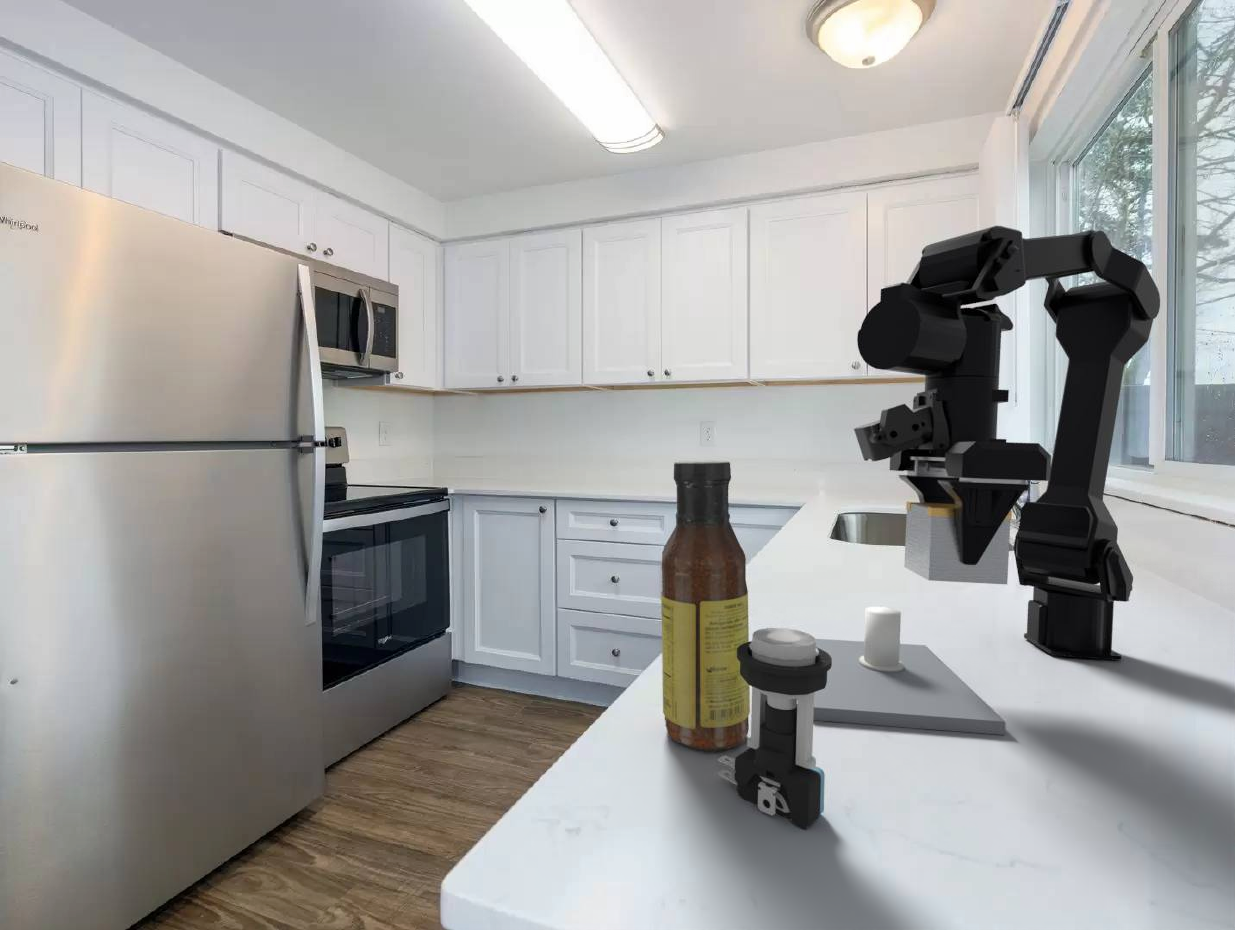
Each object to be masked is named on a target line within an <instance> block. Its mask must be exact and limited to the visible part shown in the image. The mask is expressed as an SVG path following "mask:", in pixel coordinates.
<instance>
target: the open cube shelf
mask: <svg viewBox="0 0 1235 930" xmlns="http://www.w3.org/2000/svg"><path fill="white" fill-rule="evenodd" d="M905 510H906V522H905V525H906V526H905V542H904V543H905V544H904V545H905V546H904V564H903V565H904V566H903V567H904V568H906V569H908V570H909V571H911V572H912V573H915V574H916V575H918V576H919V577H922V578H923V579H925V580H927V581H931V582H932V581H934V582H948V583H949V582H952V583H971V584H972V583H973V584H990V585H993V584H994V585H1008V579H1009V578H1008V577H1009V575H1008V574H1009V558H1010V557H1009V555H1010V554H1009V553H1010V537H1011V535H1010V534H1011V520H1012V514H1013V512H1012V510H1011V511H1010V512H1009V514H1008V515H1007V516H1006V518H1005V519H1004V521H1003V523H1002V524H1001V526H1000V527H999V529H998V530H997V532H996V534H995V535H994V537H993V539H992V540H991V542H990V544H989V545H988V547H987V549H986V550H985V552H984V553H983V555H982V557H981V558H980V560H979V562H978V563H977V564H976V565H965V564H963V563H962V562H961V556H960V550H959V541H958V530H957V520H956V509H955V504H951V503H926V502H920V501H919V502H918V501H906V505H905Z"/></svg>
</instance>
